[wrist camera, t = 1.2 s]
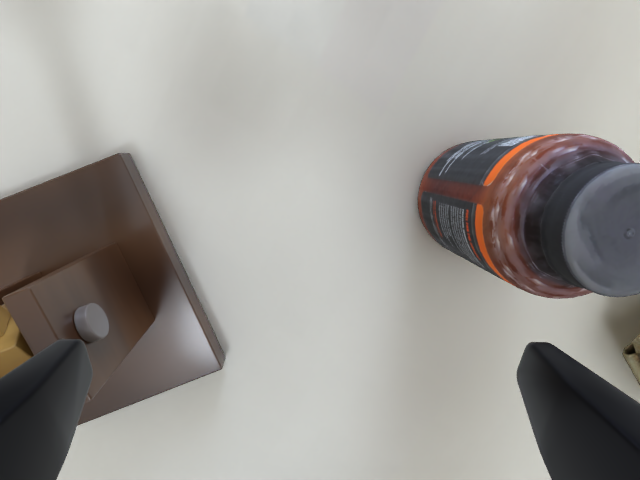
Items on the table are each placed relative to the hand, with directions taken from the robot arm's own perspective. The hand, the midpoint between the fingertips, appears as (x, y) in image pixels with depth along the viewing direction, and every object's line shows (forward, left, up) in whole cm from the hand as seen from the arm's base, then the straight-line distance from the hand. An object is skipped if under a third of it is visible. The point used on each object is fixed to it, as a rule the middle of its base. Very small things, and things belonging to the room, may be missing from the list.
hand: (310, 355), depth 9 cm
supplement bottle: (+5, -8, -15) cm, 18 cm away
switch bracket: (-6, +9, -15) cm, 18 cm away
